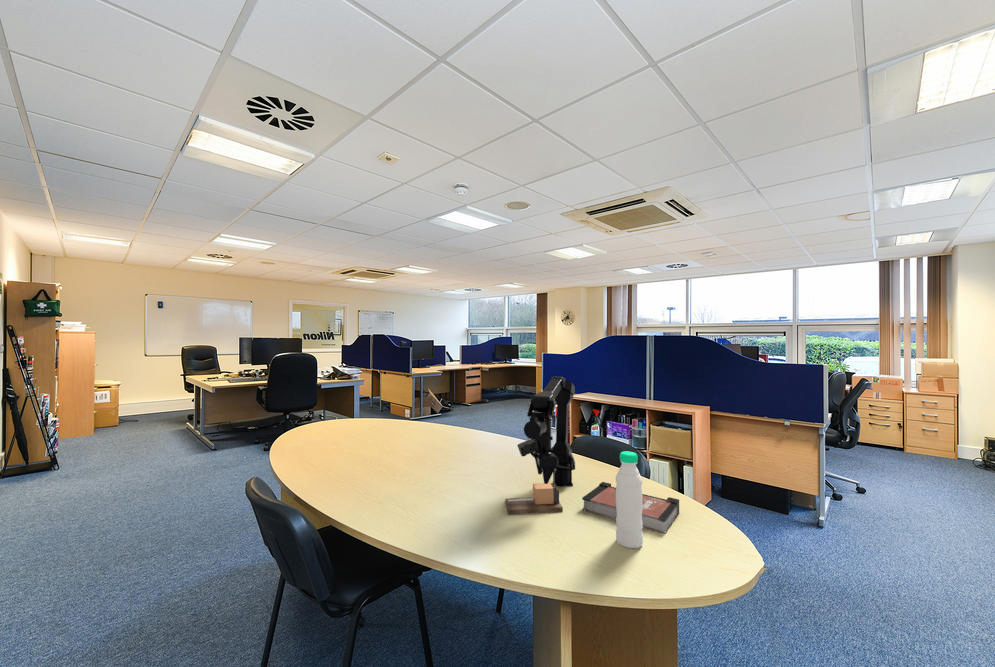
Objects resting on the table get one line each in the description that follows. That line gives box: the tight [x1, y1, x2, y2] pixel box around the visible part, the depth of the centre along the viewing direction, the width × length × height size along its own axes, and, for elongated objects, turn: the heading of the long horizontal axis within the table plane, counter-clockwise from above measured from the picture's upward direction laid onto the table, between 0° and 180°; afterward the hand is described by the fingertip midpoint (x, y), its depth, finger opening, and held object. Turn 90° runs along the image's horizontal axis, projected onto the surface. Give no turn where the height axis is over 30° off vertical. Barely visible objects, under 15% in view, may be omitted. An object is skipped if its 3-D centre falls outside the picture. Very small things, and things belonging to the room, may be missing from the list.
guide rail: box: [508, 487, 560, 505], centre depth 133 cm, size 17×4×4 cm, turn 96°
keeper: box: [532, 482, 554, 505], centre depth 133 cm, size 6×5×5 cm
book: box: [581, 481, 680, 535], centre depth 129 cm, size 26×18×5 cm
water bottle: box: [615, 450, 644, 549], centre depth 110 cm, size 7×7×25 cm
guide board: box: [504, 496, 564, 515], centre depth 133 cm, size 18×9×2 cm, turn 96°
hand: (542, 478), depth 133 cm, fingers open, 9 cm apart
